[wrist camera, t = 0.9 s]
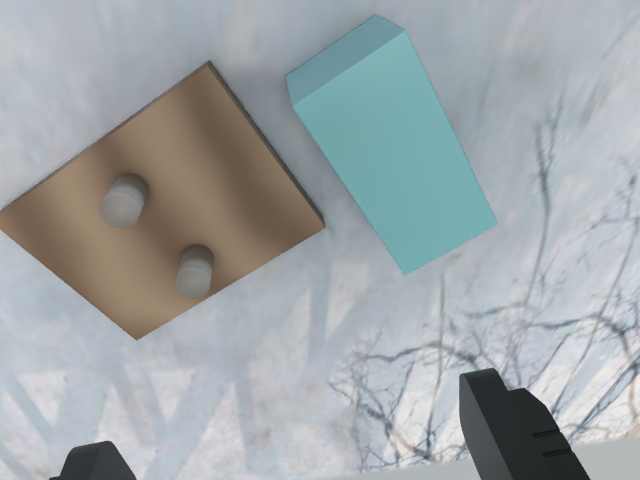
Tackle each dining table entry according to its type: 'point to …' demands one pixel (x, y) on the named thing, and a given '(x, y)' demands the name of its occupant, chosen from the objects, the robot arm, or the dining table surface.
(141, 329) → the base plate
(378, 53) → the teal rectangular block
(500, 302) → the dining table surface
